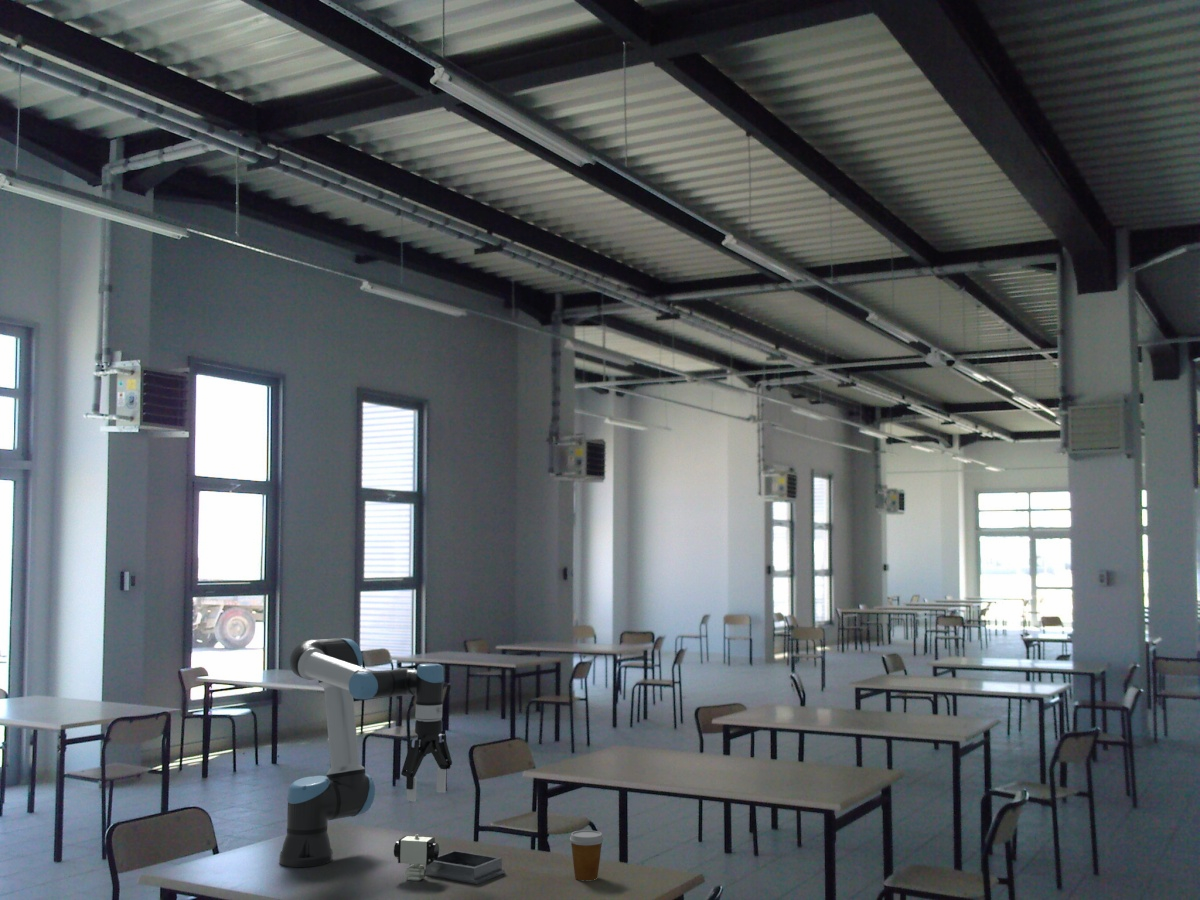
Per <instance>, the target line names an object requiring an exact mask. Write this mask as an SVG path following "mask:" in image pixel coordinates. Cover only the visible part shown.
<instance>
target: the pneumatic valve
mask: <svg viewBox="0 0 1200 900" xmlns="http://www.w3.org/2000/svg"><path fill="white" fill-rule="evenodd" d="M439 853H440V845H439V843H438V842H436V838H435V837H429V836H419V834H414V836H411V835H410V836H409V835H408V836H407V835H405V836H402V837H401V838H399V839H398V840H396V841H395V843H394V846H393V856H394V858H396V859H397V863H398V864H408V865H409V866H410V867H407V868H406V870H405V877H406V880H407V881H413V882H420V881H422V880H423V879H425V878H426V877H427V875H426V868H425V866H426V865H429V864H430V863H432V862H433V861H434V860H436V859H437V858H438V856H439ZM424 865H425V866H424Z"/></svg>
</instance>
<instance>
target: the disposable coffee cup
mask: <svg viewBox="0 0 1200 900" xmlns="http://www.w3.org/2000/svg"><path fill="white" fill-rule="evenodd" d="M569 841H570V843H571V852H572V860H573V861H572V862H573V871H574V873H573V874H574V879H575V878H576V879H578V880H577V881H579V880H594V879H596V878H597V877H598V876H599V869H600V861H601V851H602V844H603V841H604V836H603V833H602V832H601V831H597V830H592V829H591V830H588V829H583V830H582V829H581V830H576V831H573V832H571V833H570V837H569ZM576 879H575V880H576ZM597 879H598V878H597ZM597 879H596V880H597ZM594 881H595V880H594Z"/></svg>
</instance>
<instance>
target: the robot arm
mask: <svg viewBox="0 0 1200 900" xmlns="http://www.w3.org/2000/svg"><path fill="white" fill-rule="evenodd" d="M363 660H364V659H363V654H362V650H361V647H360V646H359V644H358V643H356V641H354V639H351V638H344V637H343V638H341V637H335V638H324V639H323V638H322V639H320V638H319V639H308V640H304V641H302V642H299V643H298V644H297V645H296V646H295V647H294V648H293V649H292V651H291V652H290V655H289V661H288V662H289V663H288V664H289V667H290V670H291V671H292V673H293V674H295V676H297V677H299V678H301V679H305V680H306V681H307V680H308V681H313V680H318V685H319V686H320V687H321V688H322V689H323V691H324V692H323V693H324V701H325V702H324V703H325V713H326V725H327V737H328V749H329V750H328V752H329V760H330V761H329V763H330V768H329V769H328V771H327V772H326V775H314V776H305V777H302V778H299V779H296V780H294V781H293V782H292V783H291V784H290V785H289V788H288V793H287V799H286V800H287V812H286V813H287V814H286V815H287V816H286V817H287V819H286V835H285V839H284V841H283V845H282V849H281V851H280V854H279V864H280V865H281V866H285V867H291V868H310V867H316V866H322V865H326V864H328V863H330V862H332V861H333V856H334V855H333V854H334V853H333V852H334V851H333V849H332V847H331V842H330V838H329V833H328V824H329V823H328V821H333V820H338V819H343V818H344V819H345V818H349V817H350V818H351V817H352V818H353V817H357V816H358V815H359V816H360V815H363V814H365V813H366V812H368V811H369V810H370V808H371V806H372V805H373V803H374V801H375V795H376V786H375V782H374V780H373V778H372V776H371V775H370V774H368V773H366V768H365V766H363V765H361V763H360V756H359V746H358V732H357V724H356V711H355V702H354V701H355V700H366V701H367V700H371V699H379V698H390V697H401V696H411V697H412V696H413V697H416V698H415V713H414V714H415V716H414V717H415V718H416V720H415V723H414V724H415V725H414V726H415V727H414V734H416V735H417V738H416V739H412V738H411V739H410V740H409V744H408V750H407V754H406V756H405V760H404V763H403V766H402V769H401V773H400V774H401V776H403V777H405V778H406V785H405V786H406V802H412V803H413V802H414V803H416V802H417V785H418V783H417V782H418V781H417V780H418V777H417V776H416V774H417V773H418V771H419V768H420V766H421V764H422V762H423V760H424V758H425V757H426V756H427V755H428V754H429V755H430V754H432V756H433V758H434V760H435V762H436V764H437V765H438V768H437V769H436V793H441V794H446V792H447V791H446V790H447V778H448V777H447V775H448V773H447V772H448V770H450V769H451V766H452V765H453V761H452V757H451V753H450V750H449V747H448V743H447V735H446V734H445V733H442V732H443V721H442V719H443V701H444V680H445V678H444V666H443V665H442V664H439V663H420V664H418V665H417V668H416V669H415V668H409V667H396V668H394V669H386V670H373V669H369V668H366V667H363V662H364V661H363ZM354 699H355V700H354Z"/></svg>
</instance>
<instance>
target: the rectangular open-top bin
mask: <svg viewBox="0 0 1200 900" xmlns="http://www.w3.org/2000/svg"><path fill="white" fill-rule="evenodd" d="M502 862H503V858H502V857H499V856H498V857H497V856H493V855H486V854H480V853H475V852H467V851H462V850H455V849H454V850H450V851H448V852H445V853H442V854H440V855H438V858H437V859H436V860H434V861H433V862H432V863H430V864H429V865H425V869H426V876H428V877H429V876H430V877H434V878H440V879H445V880H446V879H447V880H452V881H458V882H463V883H468V884H475V885H479V884H481V883H484V882H486V881H489V880H491V879H493V878H496V877H498V876H501V875H503V874H505V869H504V868H503V867H502V866H503V863H502Z"/></svg>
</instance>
